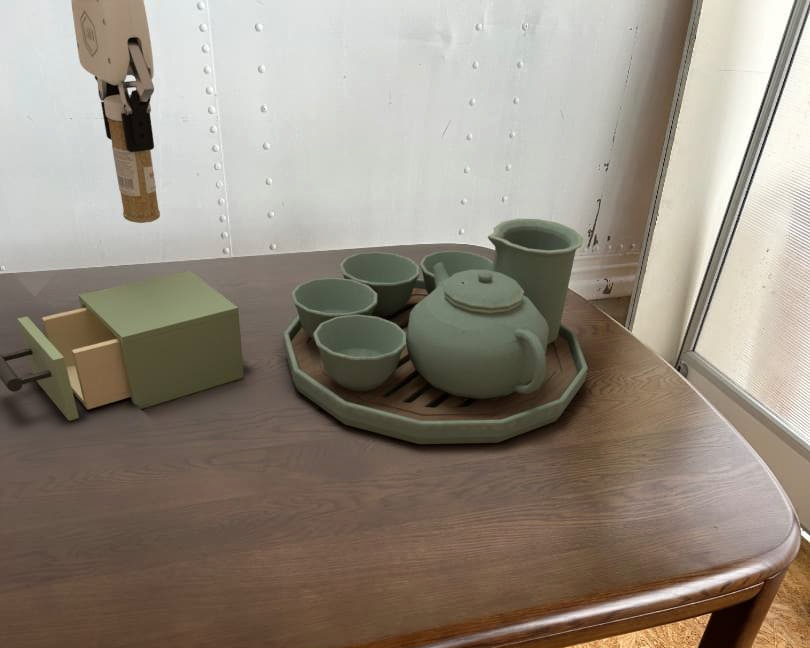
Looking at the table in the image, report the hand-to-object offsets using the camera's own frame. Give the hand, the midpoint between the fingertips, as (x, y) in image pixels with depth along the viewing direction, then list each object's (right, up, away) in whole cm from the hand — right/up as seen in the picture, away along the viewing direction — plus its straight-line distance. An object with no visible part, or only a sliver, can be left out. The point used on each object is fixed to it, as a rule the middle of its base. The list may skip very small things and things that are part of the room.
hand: (130, 142), depth 93 cm
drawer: (-6, -29, +2) cm, 30 cm away
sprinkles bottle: (-1, -7, +6) cm, 9 cm away
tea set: (+36, -24, +13) cm, 45 cm away
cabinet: (+2, -26, +8) cm, 27 cm away
